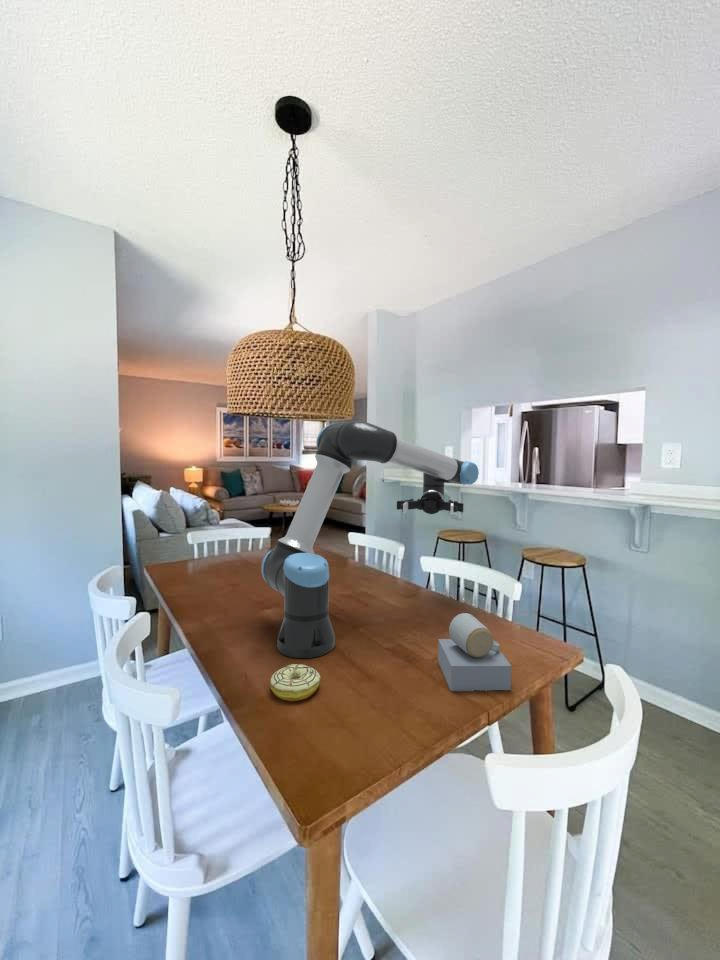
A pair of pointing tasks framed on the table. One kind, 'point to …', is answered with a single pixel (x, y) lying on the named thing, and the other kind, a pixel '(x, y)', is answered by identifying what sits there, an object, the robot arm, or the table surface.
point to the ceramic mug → (471, 635)
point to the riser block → (473, 669)
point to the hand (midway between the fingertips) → (427, 509)
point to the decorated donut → (295, 682)
